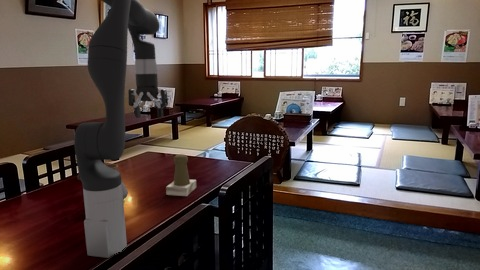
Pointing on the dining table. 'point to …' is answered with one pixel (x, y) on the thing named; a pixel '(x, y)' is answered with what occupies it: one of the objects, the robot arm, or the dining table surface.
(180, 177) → the cork
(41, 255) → the dining table surface
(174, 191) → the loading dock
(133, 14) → the robot arm
